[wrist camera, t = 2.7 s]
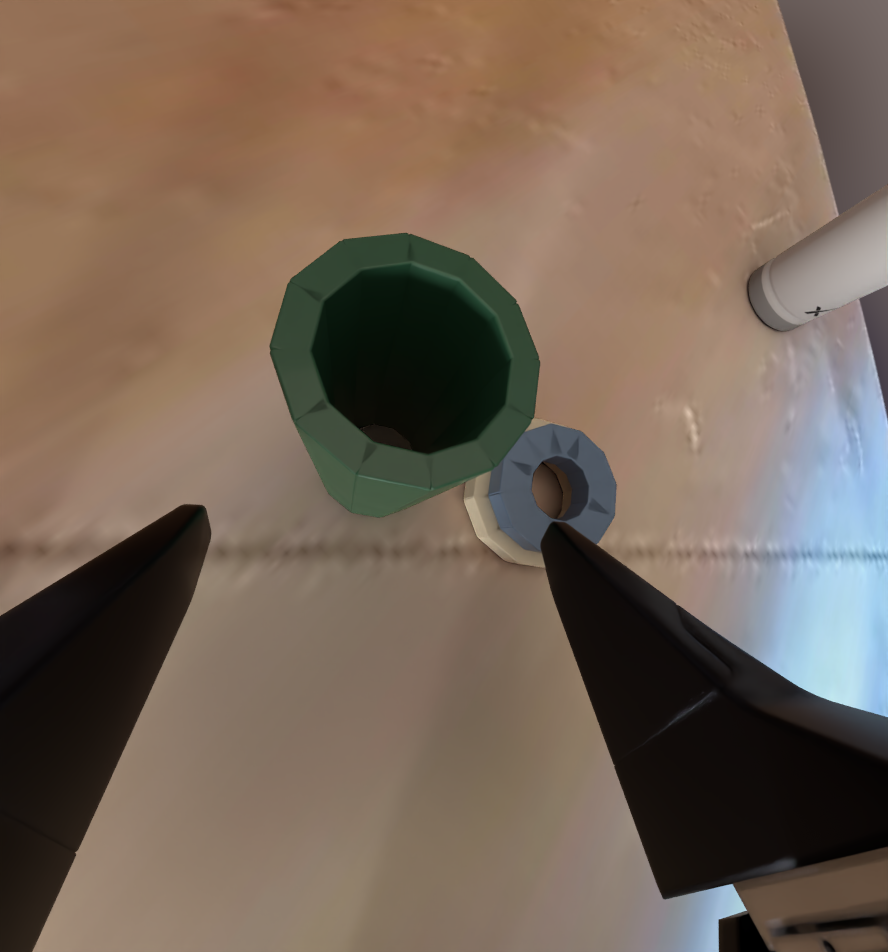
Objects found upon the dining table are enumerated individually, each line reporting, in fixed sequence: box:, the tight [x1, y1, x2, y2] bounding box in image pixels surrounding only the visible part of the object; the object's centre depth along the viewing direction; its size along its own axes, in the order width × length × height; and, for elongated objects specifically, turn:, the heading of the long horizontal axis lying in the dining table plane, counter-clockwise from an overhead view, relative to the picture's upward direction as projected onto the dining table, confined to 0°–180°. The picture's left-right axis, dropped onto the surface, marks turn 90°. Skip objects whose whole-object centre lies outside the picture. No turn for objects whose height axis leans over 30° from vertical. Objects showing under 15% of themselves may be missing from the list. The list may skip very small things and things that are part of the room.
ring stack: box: [463, 418, 616, 568], centre depth 20 cm, size 9×9×3 cm
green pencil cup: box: [270, 233, 540, 517], centre depth 14 cm, size 6×6×12 cm
